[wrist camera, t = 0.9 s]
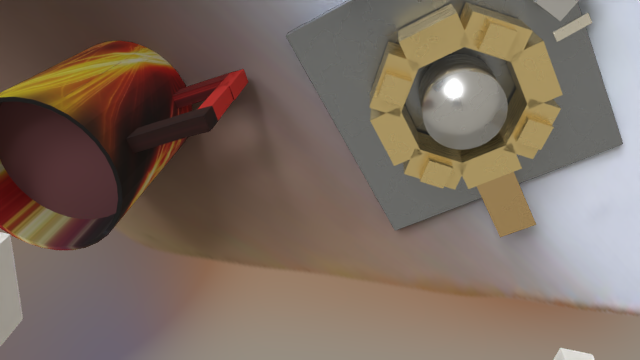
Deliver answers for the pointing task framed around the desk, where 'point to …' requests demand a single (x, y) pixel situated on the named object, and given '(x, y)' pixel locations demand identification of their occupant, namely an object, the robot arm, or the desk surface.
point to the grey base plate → (452, 93)
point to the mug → (96, 139)
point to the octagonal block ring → (519, 127)
